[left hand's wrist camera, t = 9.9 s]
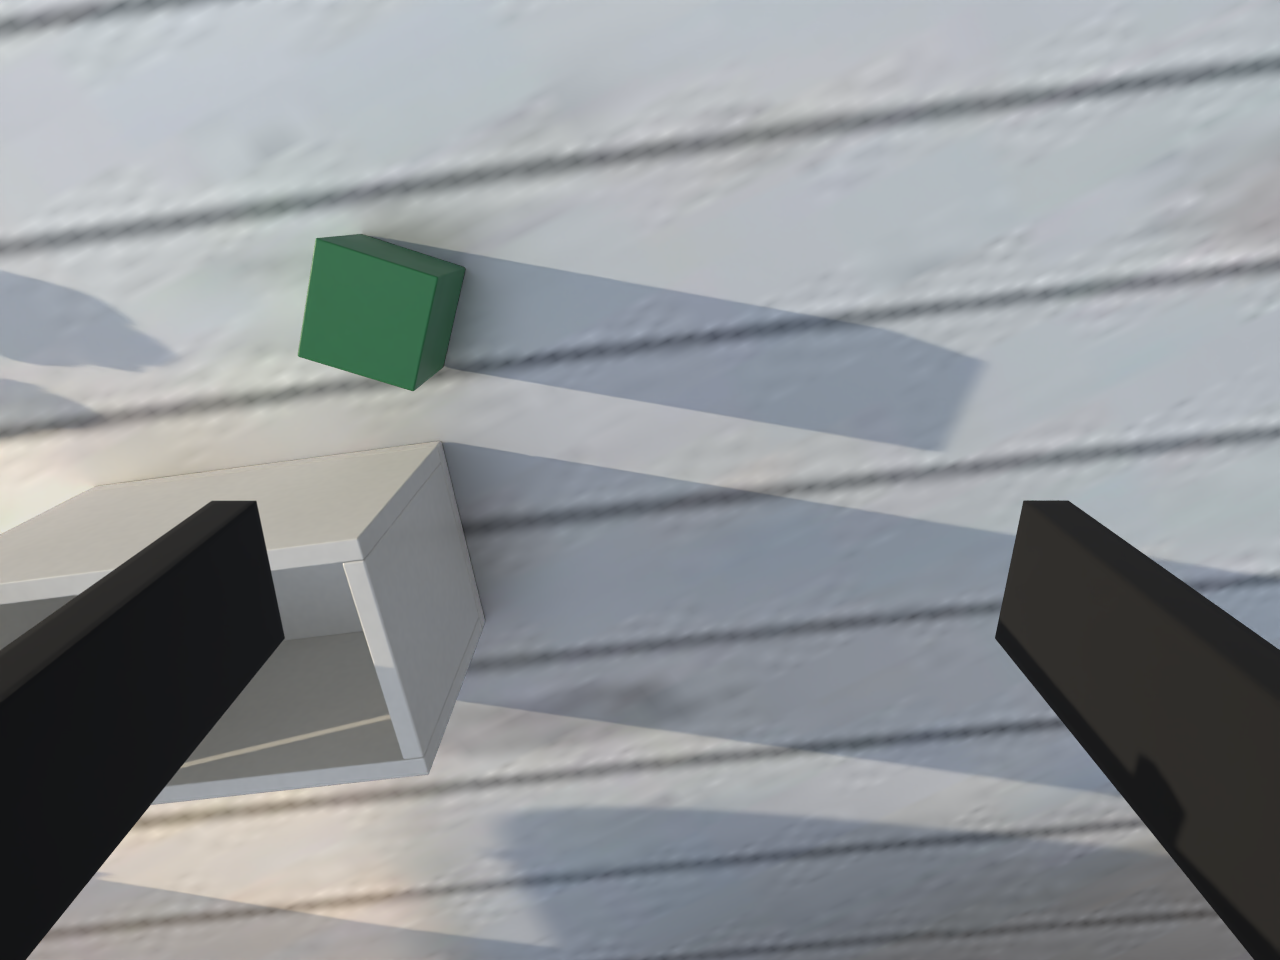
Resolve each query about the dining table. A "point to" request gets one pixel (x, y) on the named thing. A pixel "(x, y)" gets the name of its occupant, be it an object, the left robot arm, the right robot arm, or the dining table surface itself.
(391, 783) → the dining table surface
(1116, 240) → the dining table surface
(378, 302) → the block
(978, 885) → the dining table surface
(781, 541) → the dining table surface
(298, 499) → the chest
